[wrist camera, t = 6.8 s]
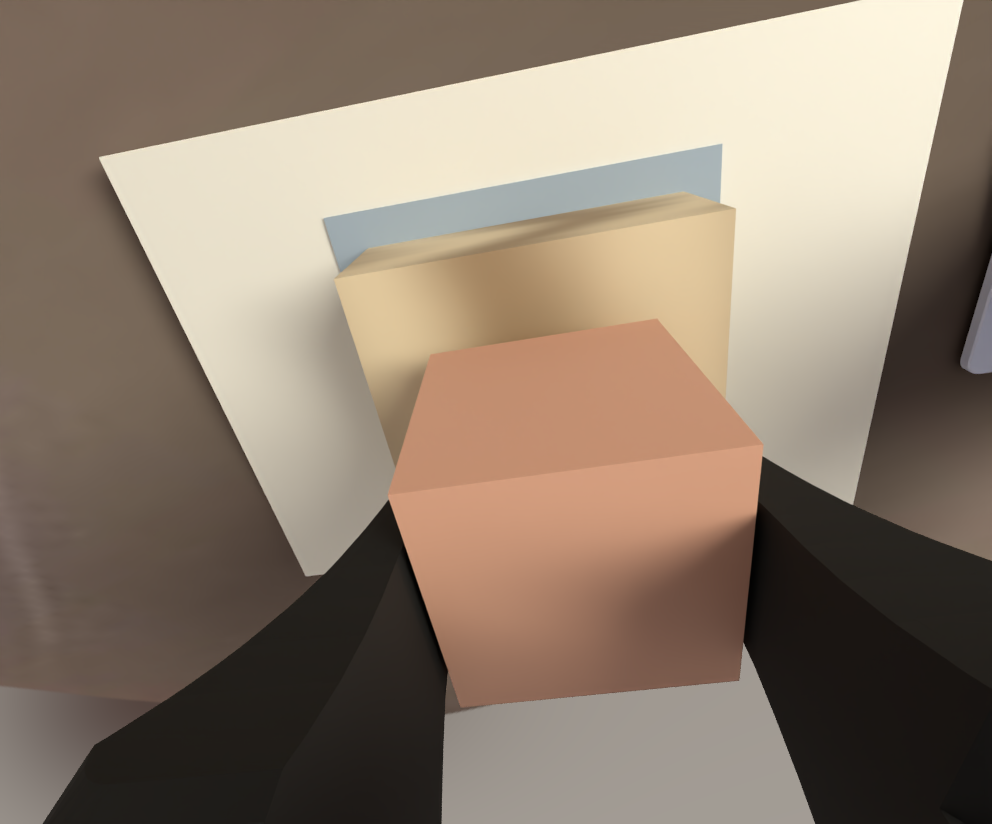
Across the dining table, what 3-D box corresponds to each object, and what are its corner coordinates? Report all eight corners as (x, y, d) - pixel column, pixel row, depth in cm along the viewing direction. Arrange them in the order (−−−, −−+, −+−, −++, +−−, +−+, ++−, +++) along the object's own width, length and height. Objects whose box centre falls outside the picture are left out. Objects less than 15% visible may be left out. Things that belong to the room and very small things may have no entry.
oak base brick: (683, 191, 14) (736, 208, 11) (681, 458, 18) (718, 525, 15) (368, 248, 15) (333, 279, 12) (437, 492, 19) (425, 561, 16)
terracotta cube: (657, 318, 11) (763, 443, 6) (659, 499, 13) (739, 680, 9) (430, 354, 11) (387, 495, 7) (473, 523, 14) (460, 707, 9)
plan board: (938, -13, 13) (971, -23, 12) (838, 493, 20) (853, 510, 19) (120, 155, 14) (96, 157, 14) (312, 560, 22) (305, 578, 21)
